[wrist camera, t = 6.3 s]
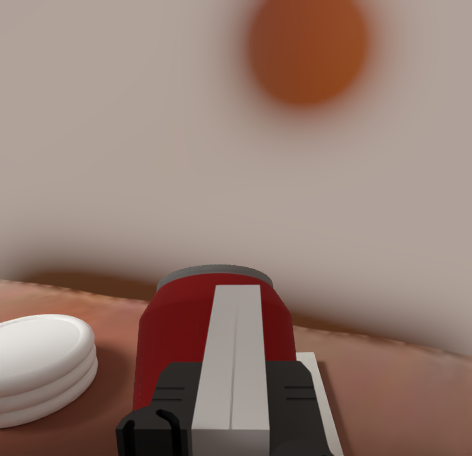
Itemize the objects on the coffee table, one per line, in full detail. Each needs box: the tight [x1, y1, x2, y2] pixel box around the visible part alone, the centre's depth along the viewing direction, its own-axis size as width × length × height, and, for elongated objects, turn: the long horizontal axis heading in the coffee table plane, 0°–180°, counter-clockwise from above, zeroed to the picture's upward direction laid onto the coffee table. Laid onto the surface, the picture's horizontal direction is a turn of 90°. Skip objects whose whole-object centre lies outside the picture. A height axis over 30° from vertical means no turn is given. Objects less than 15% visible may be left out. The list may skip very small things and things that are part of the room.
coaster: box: [0, 314, 98, 428], centre depth 31 cm, size 10×10×4 cm
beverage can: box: [133, 265, 297, 411], centre depth 17 cm, size 7×7×12 cm
